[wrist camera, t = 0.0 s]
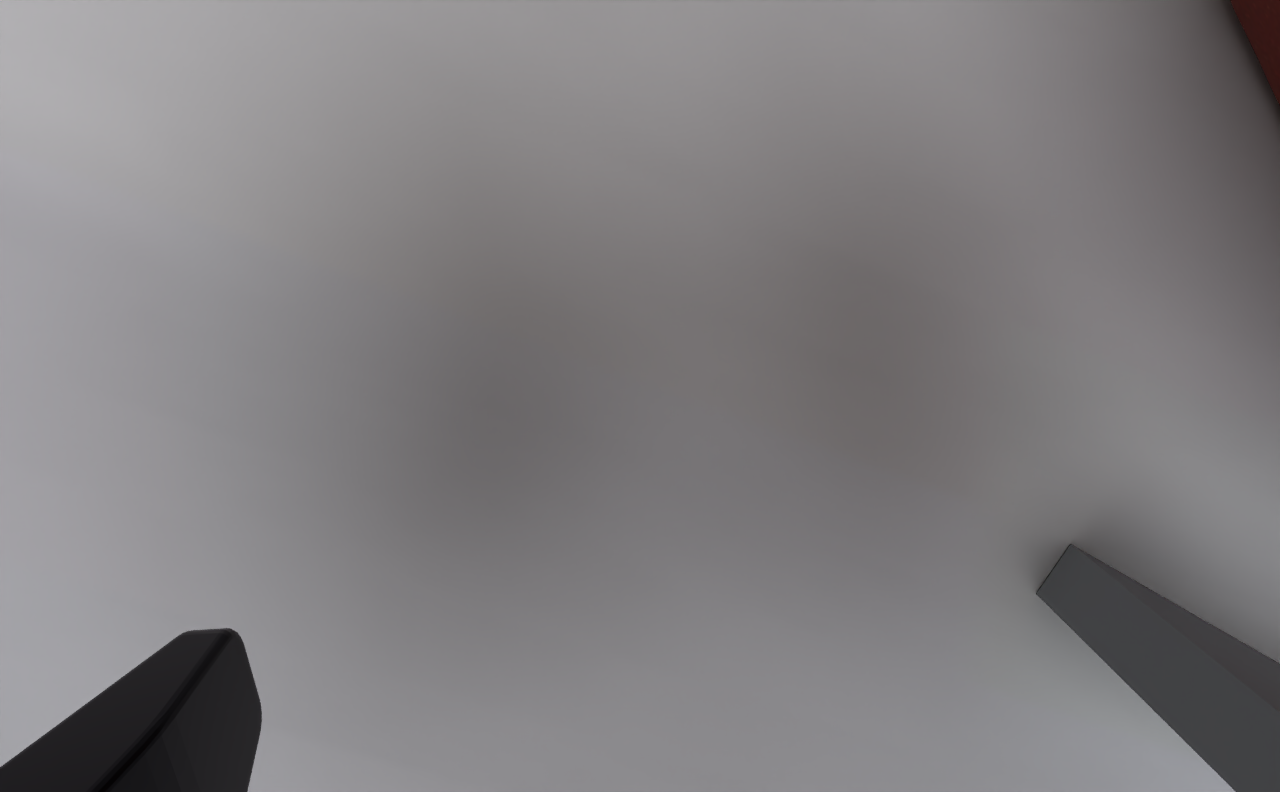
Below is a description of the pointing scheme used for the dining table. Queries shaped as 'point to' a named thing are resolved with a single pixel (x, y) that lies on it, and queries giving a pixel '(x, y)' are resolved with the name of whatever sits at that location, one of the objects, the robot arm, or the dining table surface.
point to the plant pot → (1263, 35)
